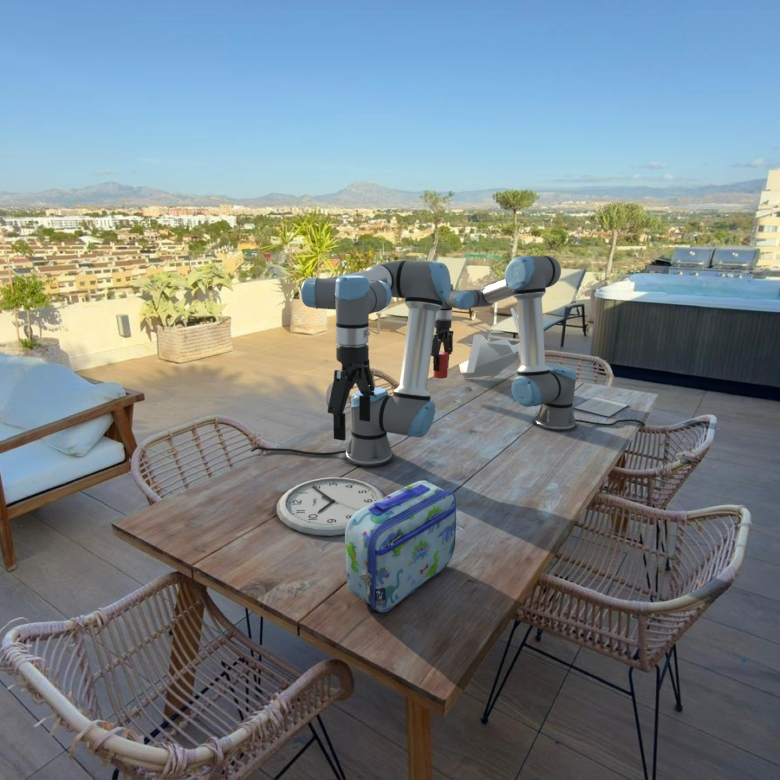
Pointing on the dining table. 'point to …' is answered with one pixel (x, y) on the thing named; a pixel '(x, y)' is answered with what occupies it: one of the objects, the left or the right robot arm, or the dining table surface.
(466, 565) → the dining table surface
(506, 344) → the white plastic object
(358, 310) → the left robot arm
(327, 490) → the wall clock
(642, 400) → the dining table surface
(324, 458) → the dining table surface
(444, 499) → the lunch box
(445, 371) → the can
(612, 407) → the invitation card
